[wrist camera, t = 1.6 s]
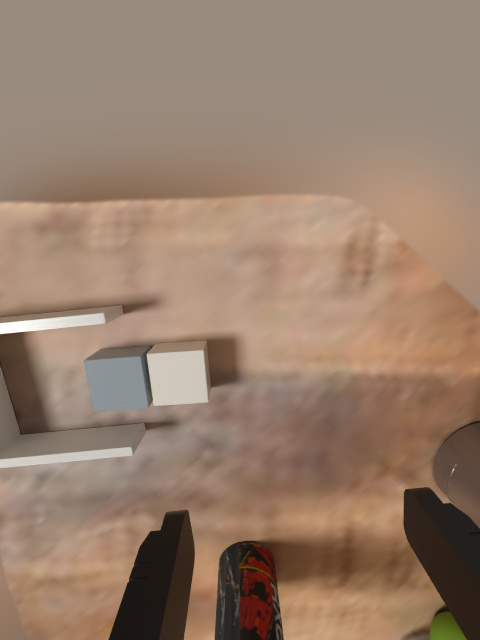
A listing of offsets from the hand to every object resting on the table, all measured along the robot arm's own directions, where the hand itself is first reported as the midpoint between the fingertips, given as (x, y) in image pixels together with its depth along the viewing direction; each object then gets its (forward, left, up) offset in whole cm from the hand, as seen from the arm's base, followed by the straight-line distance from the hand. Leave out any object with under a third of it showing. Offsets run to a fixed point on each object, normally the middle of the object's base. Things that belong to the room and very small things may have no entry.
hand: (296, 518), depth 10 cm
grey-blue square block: (+12, 0, -16) cm, 20 cm away
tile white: (+7, 0, -16) cm, 18 cm away
